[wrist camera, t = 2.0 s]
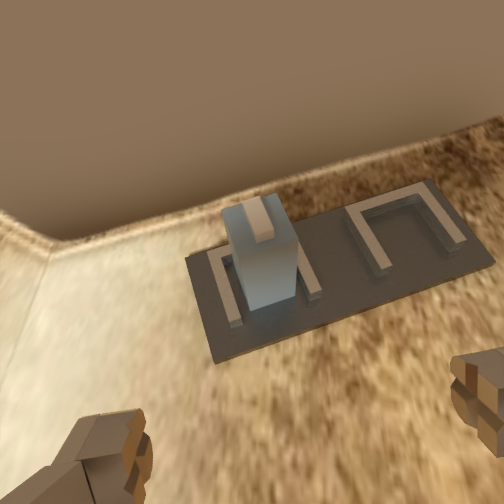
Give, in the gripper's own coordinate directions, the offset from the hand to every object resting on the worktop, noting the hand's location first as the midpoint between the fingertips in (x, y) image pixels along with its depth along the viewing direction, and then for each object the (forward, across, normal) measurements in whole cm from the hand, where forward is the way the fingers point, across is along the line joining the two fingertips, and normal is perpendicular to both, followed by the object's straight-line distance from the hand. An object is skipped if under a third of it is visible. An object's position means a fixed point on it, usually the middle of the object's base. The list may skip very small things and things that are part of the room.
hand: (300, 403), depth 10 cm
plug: (+22, -1, +4) cm, 22 cm away
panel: (+23, -7, +4) cm, 25 cm away
